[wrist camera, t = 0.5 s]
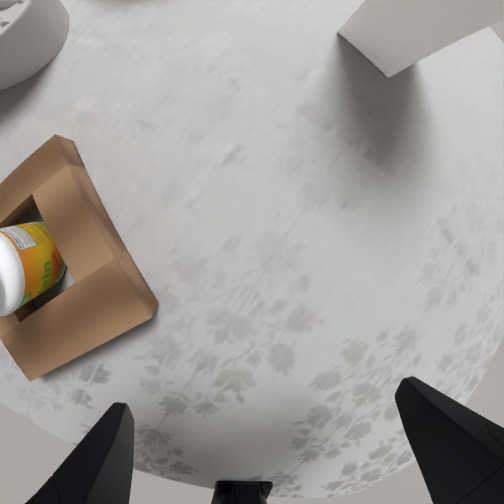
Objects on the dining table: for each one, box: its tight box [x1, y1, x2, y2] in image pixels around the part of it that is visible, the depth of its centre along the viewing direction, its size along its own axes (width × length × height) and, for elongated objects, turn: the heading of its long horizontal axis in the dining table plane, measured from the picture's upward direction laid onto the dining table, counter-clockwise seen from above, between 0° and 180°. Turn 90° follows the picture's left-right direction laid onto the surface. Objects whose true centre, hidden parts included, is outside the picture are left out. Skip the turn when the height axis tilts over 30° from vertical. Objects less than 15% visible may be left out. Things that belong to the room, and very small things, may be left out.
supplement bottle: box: [0, 222, 66, 317], centre depth 15 cm, size 5×5×10 cm
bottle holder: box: [0, 134, 159, 381], centre depth 18 cm, size 14×14×3 cm
